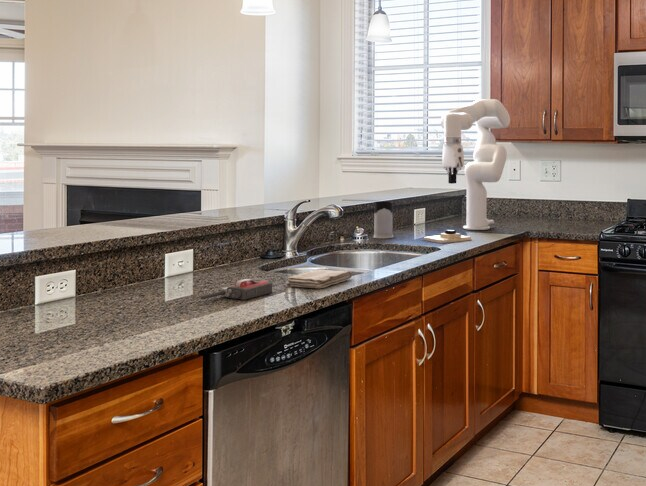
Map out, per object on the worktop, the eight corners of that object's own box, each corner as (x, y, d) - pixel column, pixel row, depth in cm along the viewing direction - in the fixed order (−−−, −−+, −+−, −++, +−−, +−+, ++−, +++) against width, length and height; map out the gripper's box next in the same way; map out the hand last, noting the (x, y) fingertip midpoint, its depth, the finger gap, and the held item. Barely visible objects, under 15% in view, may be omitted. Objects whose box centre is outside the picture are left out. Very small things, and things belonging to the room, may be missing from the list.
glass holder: (373, 238, 315) (373, 203, 315) (371, 234, 329) (371, 200, 329) (394, 238, 317) (394, 203, 317) (391, 234, 331) (391, 200, 331)
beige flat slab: (452, 237, 321) (452, 230, 321) (471, 240, 312) (471, 232, 312) (423, 240, 311) (423, 233, 311) (441, 243, 302) (441, 236, 302)
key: (451, 233, 312) (451, 229, 312) (455, 234, 309) (455, 230, 309) (445, 234, 310) (445, 230, 310) (450, 235, 307) (450, 230, 307)
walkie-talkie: (252, 288, 209) (198, 302, 191) (252, 273, 209) (198, 285, 191) (277, 292, 205) (223, 306, 187) (277, 276, 204) (223, 288, 187)
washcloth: (284, 286, 212) (284, 276, 212) (319, 276, 228) (319, 266, 228) (319, 290, 207) (319, 279, 207) (352, 279, 224) (352, 269, 223)
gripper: (470, 141, 322) (470, 183, 322) (448, 141, 333) (448, 182, 334) (457, 141, 317) (456, 184, 318) (435, 141, 329) (435, 182, 329)
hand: (452, 183), depth 326 cm, fingers closed
